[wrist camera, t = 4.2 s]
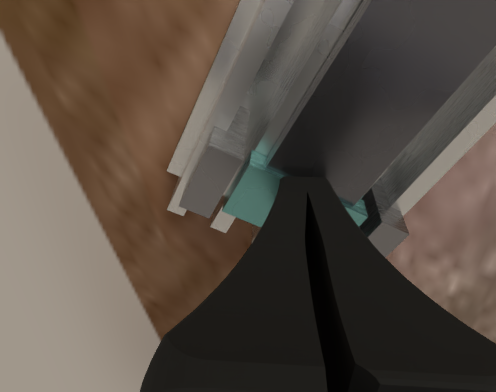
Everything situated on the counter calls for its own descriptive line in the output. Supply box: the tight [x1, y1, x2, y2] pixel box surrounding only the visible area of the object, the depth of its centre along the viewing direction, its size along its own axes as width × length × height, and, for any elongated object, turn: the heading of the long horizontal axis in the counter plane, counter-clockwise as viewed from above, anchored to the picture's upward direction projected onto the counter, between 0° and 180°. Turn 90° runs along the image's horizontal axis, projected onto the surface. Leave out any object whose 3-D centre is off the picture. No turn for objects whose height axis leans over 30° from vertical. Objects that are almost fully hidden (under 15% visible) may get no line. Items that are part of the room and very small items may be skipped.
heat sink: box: [167, 0, 496, 257], centre depth 11 cm, size 13×8×5 cm, turn 154°
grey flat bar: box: [222, 0, 496, 227], centre depth 10 cm, size 11×4×1 cm, turn 154°
